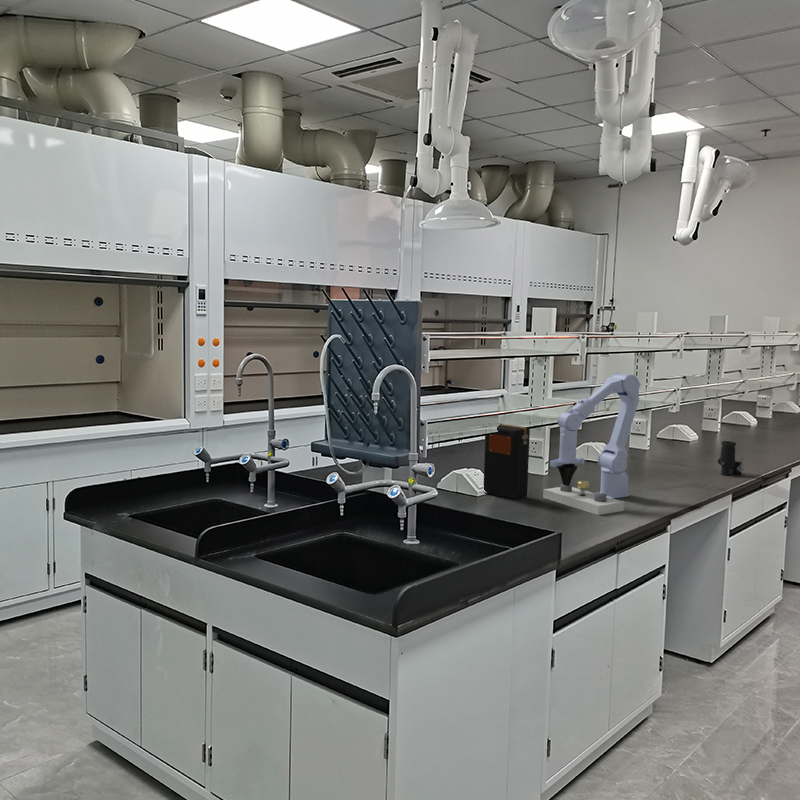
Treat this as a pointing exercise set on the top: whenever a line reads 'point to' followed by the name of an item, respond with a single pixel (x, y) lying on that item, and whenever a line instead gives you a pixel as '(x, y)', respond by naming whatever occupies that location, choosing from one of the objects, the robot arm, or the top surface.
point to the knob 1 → (565, 488)
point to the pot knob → (582, 486)
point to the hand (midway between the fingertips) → (566, 485)
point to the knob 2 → (600, 497)
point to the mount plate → (583, 501)
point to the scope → (729, 460)
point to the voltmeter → (507, 461)
